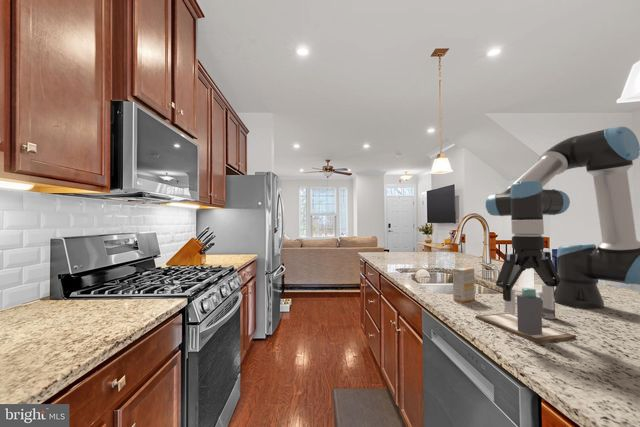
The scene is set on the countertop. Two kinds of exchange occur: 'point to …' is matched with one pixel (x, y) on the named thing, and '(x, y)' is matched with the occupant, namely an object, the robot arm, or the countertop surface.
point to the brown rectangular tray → (511, 325)
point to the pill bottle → (546, 312)
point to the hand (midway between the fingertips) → (529, 310)
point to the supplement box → (463, 284)
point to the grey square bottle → (529, 312)
